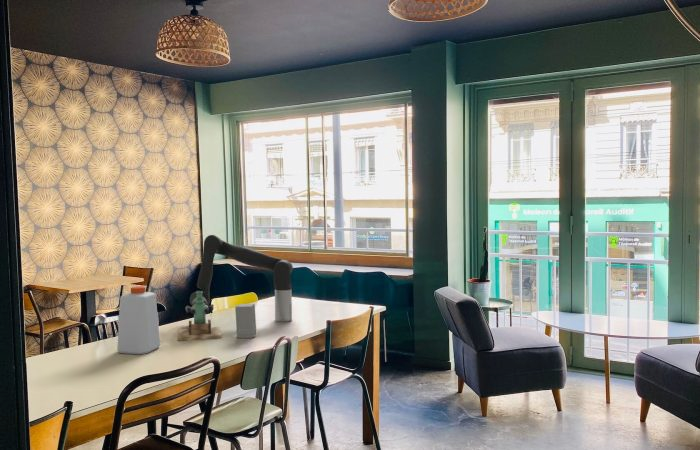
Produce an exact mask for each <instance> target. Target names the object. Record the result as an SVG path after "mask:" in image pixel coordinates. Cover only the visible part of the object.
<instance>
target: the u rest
mask: <svg viewBox="0 0 700 450" xmlns="http://www.w3.org/2000/svg"><path fill="white" fill-rule="evenodd" d="M222 336H223V335H222V330H221V326H212V321H211V319H207V322H206V323H204V324H194V323H193V322H192V320H188V328H180V329H179V330H178V336H177V341H178V342H181V341H183V342H184V341H198V340H199V341H200V340H211V339H212V340H213V339H222Z"/></svg>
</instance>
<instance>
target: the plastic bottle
mask: <svg viewBox="0 0 700 450" xmlns="http://www.w3.org/2000/svg"><path fill="white" fill-rule="evenodd" d="M157 308H158V306H157V297H156V293H155V292H151V291H150V292H149V291H146V287H145V286H133V287H130V292H128V293H125V294H122V295H121V296H120V297H119V312H118V314H119V315H118V329H117V330H118V333H117V349H116V351H117V352H118V353H119V354H128V355H129V354H130V355H145V354H149V353H150V352H153V351H155V350H157V349H159V348H160V346H161V340H160V328H159V316H158V309H157Z"/></svg>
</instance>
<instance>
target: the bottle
mask: <svg viewBox="0 0 700 450" xmlns="http://www.w3.org/2000/svg"><path fill="white" fill-rule="evenodd" d="M203 291H204V290H196V291H195V292H196V294H197V299H196V300H195V303H194V314H193V324H204V323H207V321H206V316H207V315H206V314H207V313H205V303H204V299H202V293H203V294H204V292H203Z"/></svg>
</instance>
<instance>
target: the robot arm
mask: <svg viewBox="0 0 700 450" xmlns="http://www.w3.org/2000/svg"><path fill="white" fill-rule="evenodd" d="M202 250H203V251H202V258H201V264H200V270H199V274H198V279H197V282H196V287H197V289H200V290H201V291H204V292H203V293H202V299H204V303H205V314H208V313H212V312H213V311H214V310H215V308H214V306H215V305H214V304H210V302H211V299H210V289H211V288H210V287H211V282H212V278H213V272H214V259H215V255H220V256H225V257H228V258H230V259H232V260H234V261H236V262H237V263H241V264H244V265H245V266H246V265H247V266H249V267H254V268H261V269H267V270H270V271H272V273H273V274H272V275H273V286H274V321H276V322H278V323H279V322H283V323H284V322H292V320H293V306H292V305H293V304H292V303H293V299H292V297H293V295H292V294H293V293H292V289H293V288H292V283H291V274H292V272H293V270H294V267H293V265H292V262H290V261H289V260H286V259H283V258H277V257H275V256H271V255H268V254H267V253H263V252H261V251H258V250H256V249H254V248H250V247H248V246H243V245H237V244H231V243H229V242H227V241H225V240H222V239H221V238H219V236H217V235H215V234H209V235H208V236H206V237H205V238H204V241H203V249H202ZM196 299H197V294H196V291H195V292H192V293H191V294H190V297H189V303H190V305H191V306H190V305H186V306H185V311H186V313H187V314H189V313H191V314H192V315H194V303H195V300H196Z"/></svg>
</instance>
